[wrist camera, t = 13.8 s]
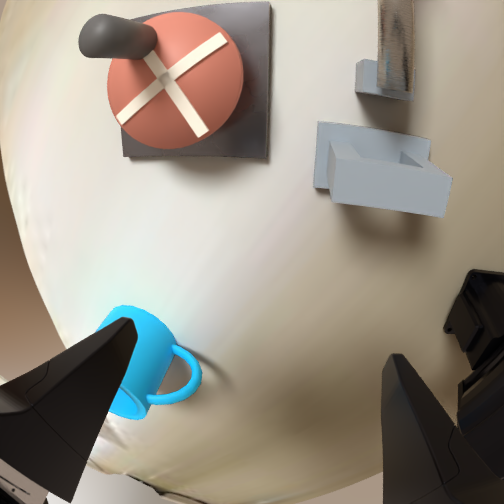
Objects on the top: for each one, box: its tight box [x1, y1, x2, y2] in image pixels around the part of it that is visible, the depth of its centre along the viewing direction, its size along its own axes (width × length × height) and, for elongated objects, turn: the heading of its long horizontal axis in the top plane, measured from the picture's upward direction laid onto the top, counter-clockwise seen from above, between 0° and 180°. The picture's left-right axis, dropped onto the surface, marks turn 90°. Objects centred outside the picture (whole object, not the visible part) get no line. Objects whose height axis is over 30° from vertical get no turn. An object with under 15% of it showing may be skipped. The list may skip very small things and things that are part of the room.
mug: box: [96, 305, 202, 420], centre depth 26 cm, size 12×8×8 cm
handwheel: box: [79, 12, 243, 149], centre depth 13 cm, size 8×8×6 cm
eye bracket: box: [313, 59, 453, 218], centre depth 14 cm, size 7×8×6 cm
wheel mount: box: [121, 2, 270, 158], centre depth 16 cm, size 10×10×1 cm
